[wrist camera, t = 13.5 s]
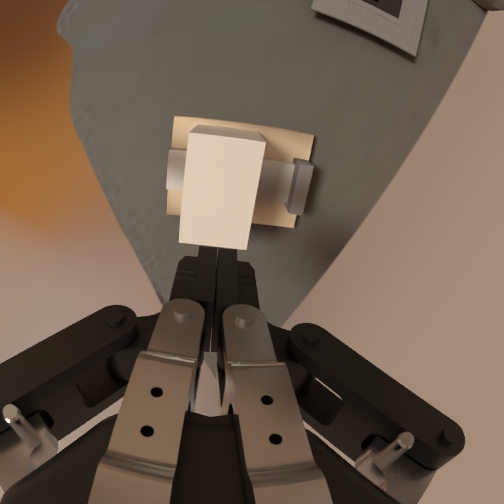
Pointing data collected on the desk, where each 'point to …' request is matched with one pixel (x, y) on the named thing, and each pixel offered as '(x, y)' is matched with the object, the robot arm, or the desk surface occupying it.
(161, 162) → the desk surface
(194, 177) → the white rectangular block
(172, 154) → the rail board
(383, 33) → the electrical outlet
